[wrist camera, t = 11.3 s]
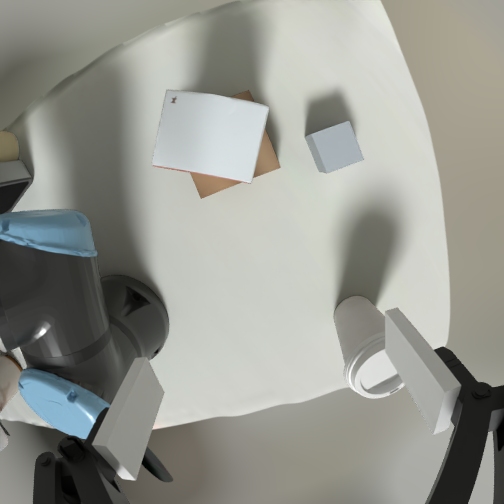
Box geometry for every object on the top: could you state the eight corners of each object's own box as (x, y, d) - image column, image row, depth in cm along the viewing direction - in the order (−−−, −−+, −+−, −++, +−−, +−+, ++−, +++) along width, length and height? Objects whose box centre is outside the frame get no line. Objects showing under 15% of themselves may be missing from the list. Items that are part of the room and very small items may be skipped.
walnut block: (207, 194, 40) (201, 198, 36) (180, 126, 38) (170, 122, 33) (277, 166, 39) (280, 167, 35) (249, 98, 37) (249, 90, 32)
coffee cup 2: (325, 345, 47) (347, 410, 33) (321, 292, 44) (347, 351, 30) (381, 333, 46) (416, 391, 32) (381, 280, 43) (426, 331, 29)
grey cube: (318, 171, 39) (327, 173, 34) (304, 136, 38) (311, 134, 33) (351, 159, 39) (364, 159, 34) (338, 124, 37) (349, 120, 32)
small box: (183, 163, 34) (148, 166, 22) (194, 111, 32) (164, 86, 20) (251, 176, 35) (252, 185, 22) (262, 123, 33) (270, 103, 21)
